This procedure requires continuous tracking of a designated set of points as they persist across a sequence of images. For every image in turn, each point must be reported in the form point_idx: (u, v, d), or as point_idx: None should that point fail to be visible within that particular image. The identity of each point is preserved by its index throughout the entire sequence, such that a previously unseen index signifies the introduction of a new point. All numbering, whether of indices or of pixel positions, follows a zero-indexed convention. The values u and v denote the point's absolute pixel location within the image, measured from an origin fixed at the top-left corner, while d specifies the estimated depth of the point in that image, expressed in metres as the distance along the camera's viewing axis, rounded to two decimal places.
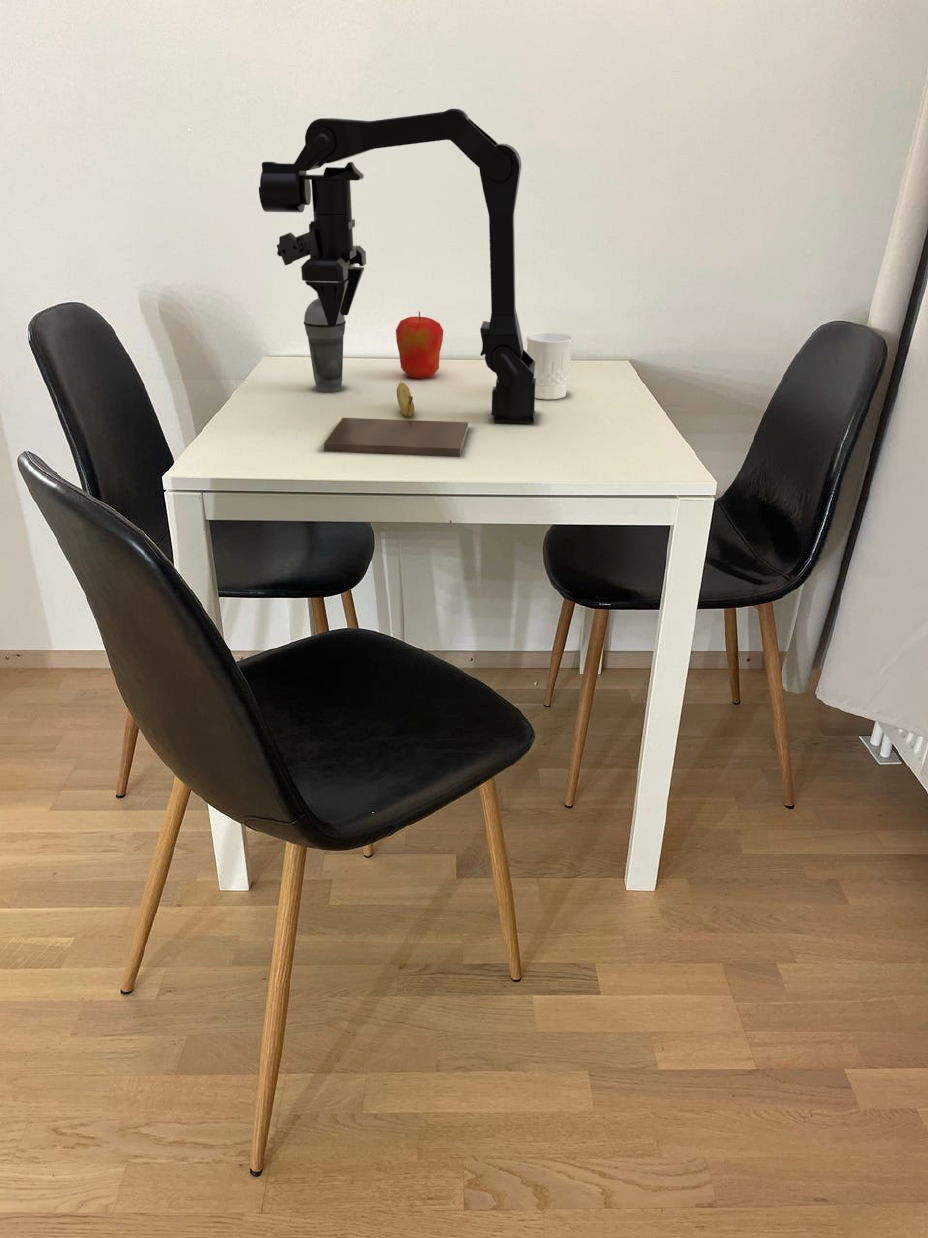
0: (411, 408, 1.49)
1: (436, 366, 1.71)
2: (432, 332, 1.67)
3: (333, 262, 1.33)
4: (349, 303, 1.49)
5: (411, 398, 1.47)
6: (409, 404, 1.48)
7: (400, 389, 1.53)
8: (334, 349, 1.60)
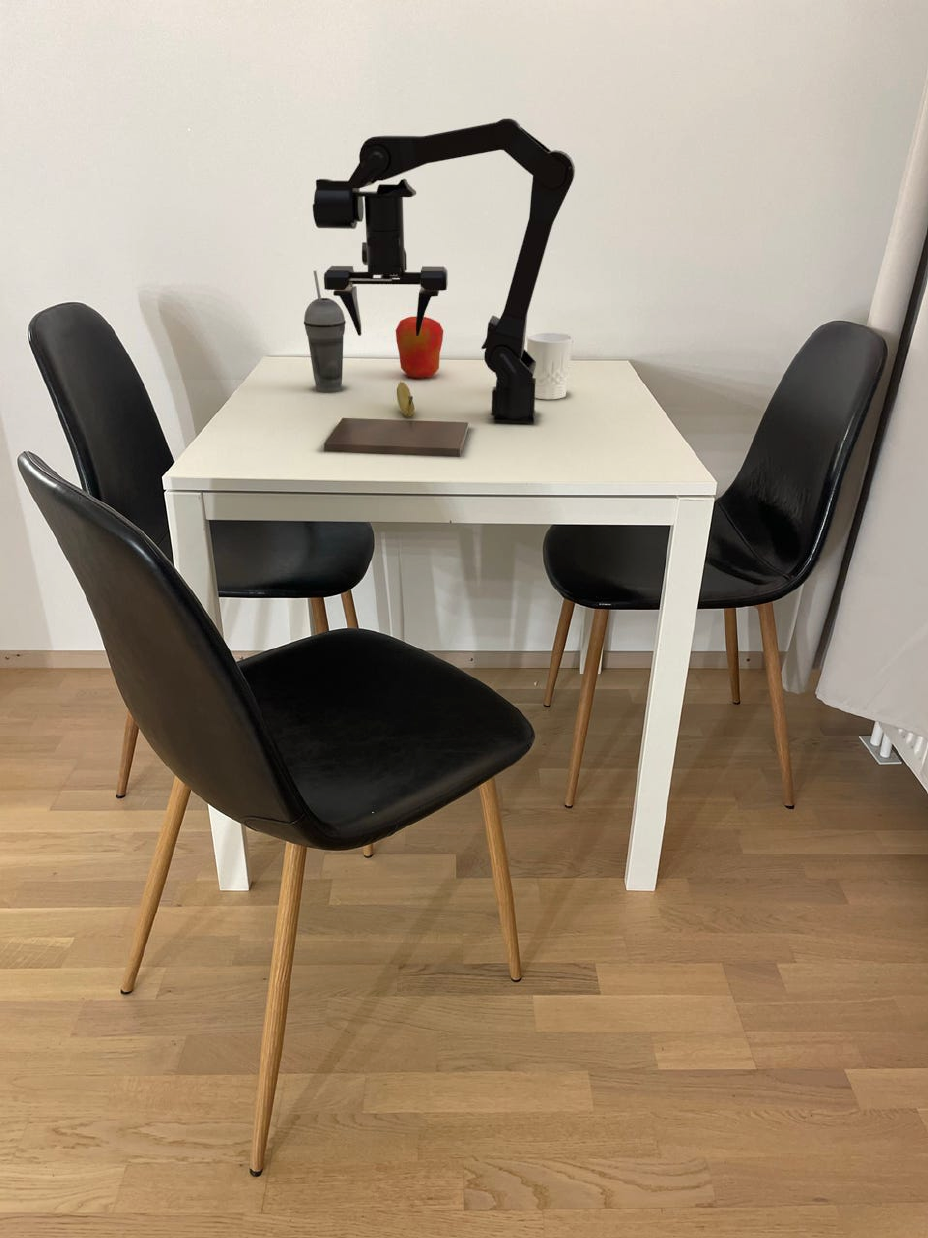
0: (411, 408, 1.49)
1: (436, 366, 1.71)
2: (432, 332, 1.67)
3: None
4: None
5: (411, 398, 1.47)
6: (409, 404, 1.48)
7: (399, 389, 1.53)
8: (334, 349, 1.60)
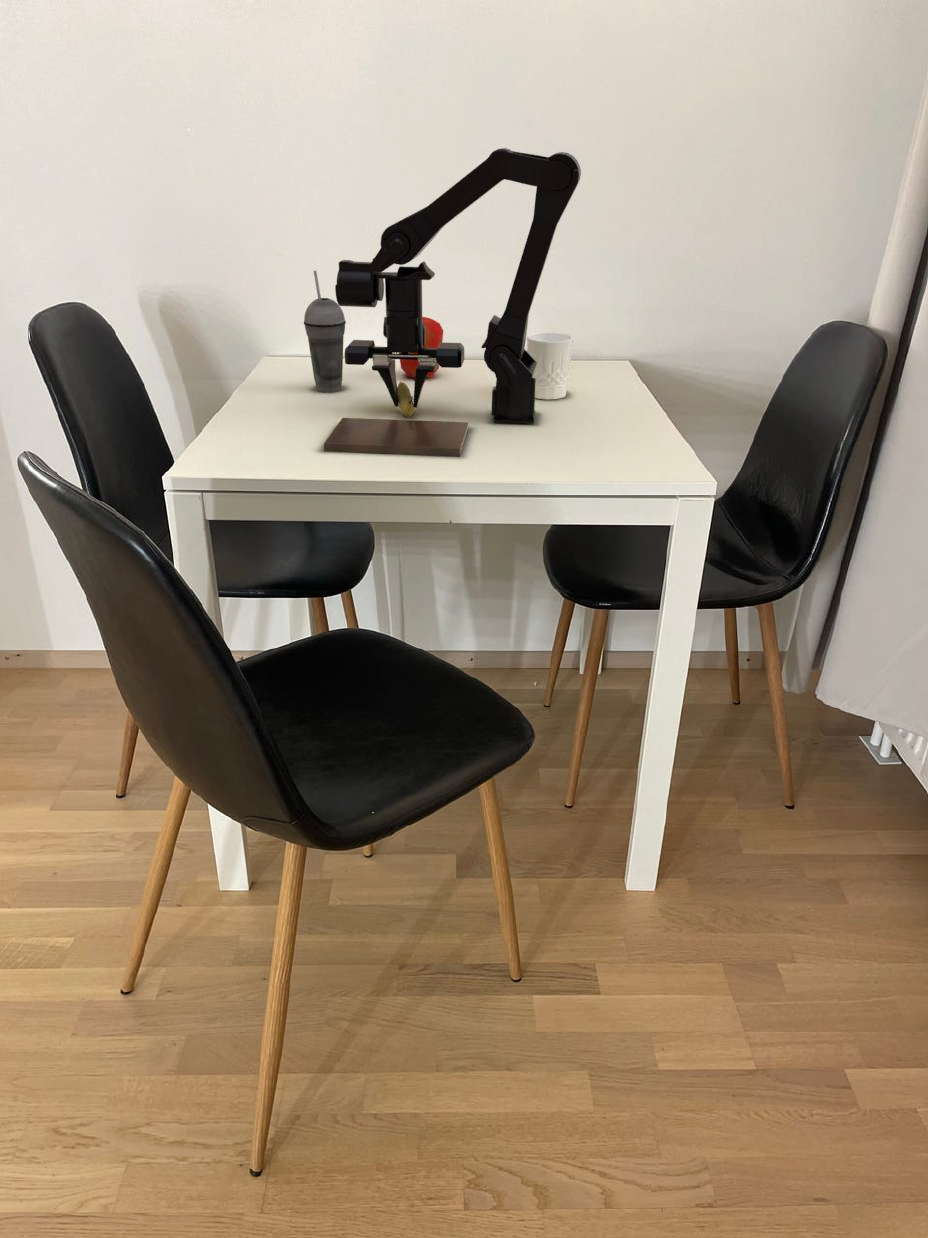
0: (411, 408, 1.49)
1: None
2: (432, 332, 1.67)
3: (347, 346, 1.47)
4: None
5: (411, 398, 1.47)
6: (409, 404, 1.48)
7: (400, 389, 1.53)
8: (334, 349, 1.60)
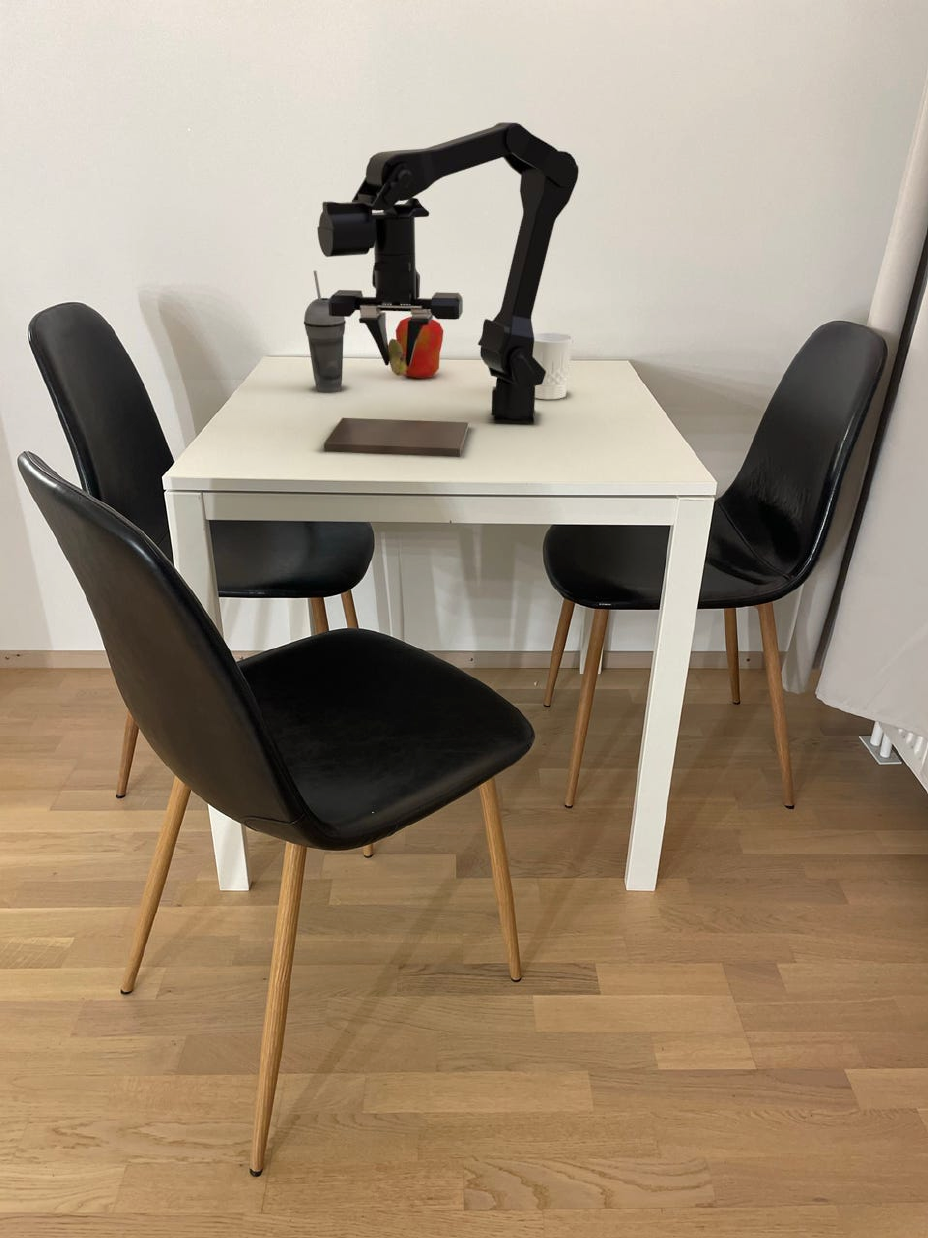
0: (403, 366, 1.33)
1: (436, 366, 1.71)
2: (432, 332, 1.67)
3: None
4: (406, 354, 1.35)
5: (403, 354, 1.31)
6: (400, 361, 1.32)
7: (391, 346, 1.37)
8: (334, 349, 1.60)
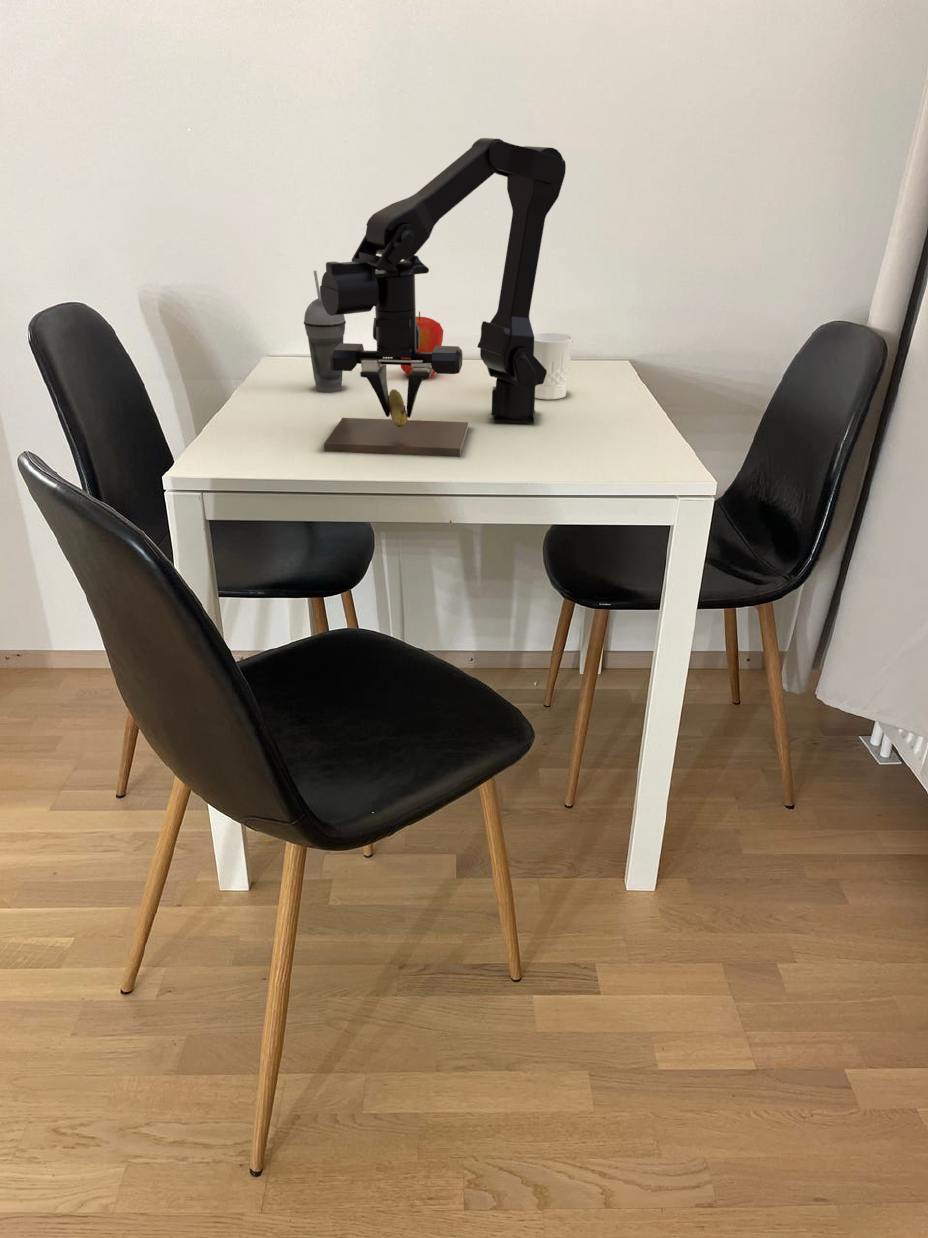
0: (404, 418, 1.35)
1: None
2: (432, 332, 1.67)
3: (333, 350, 1.33)
4: None
5: (403, 407, 1.33)
6: (401, 414, 1.34)
7: (391, 397, 1.39)
8: None
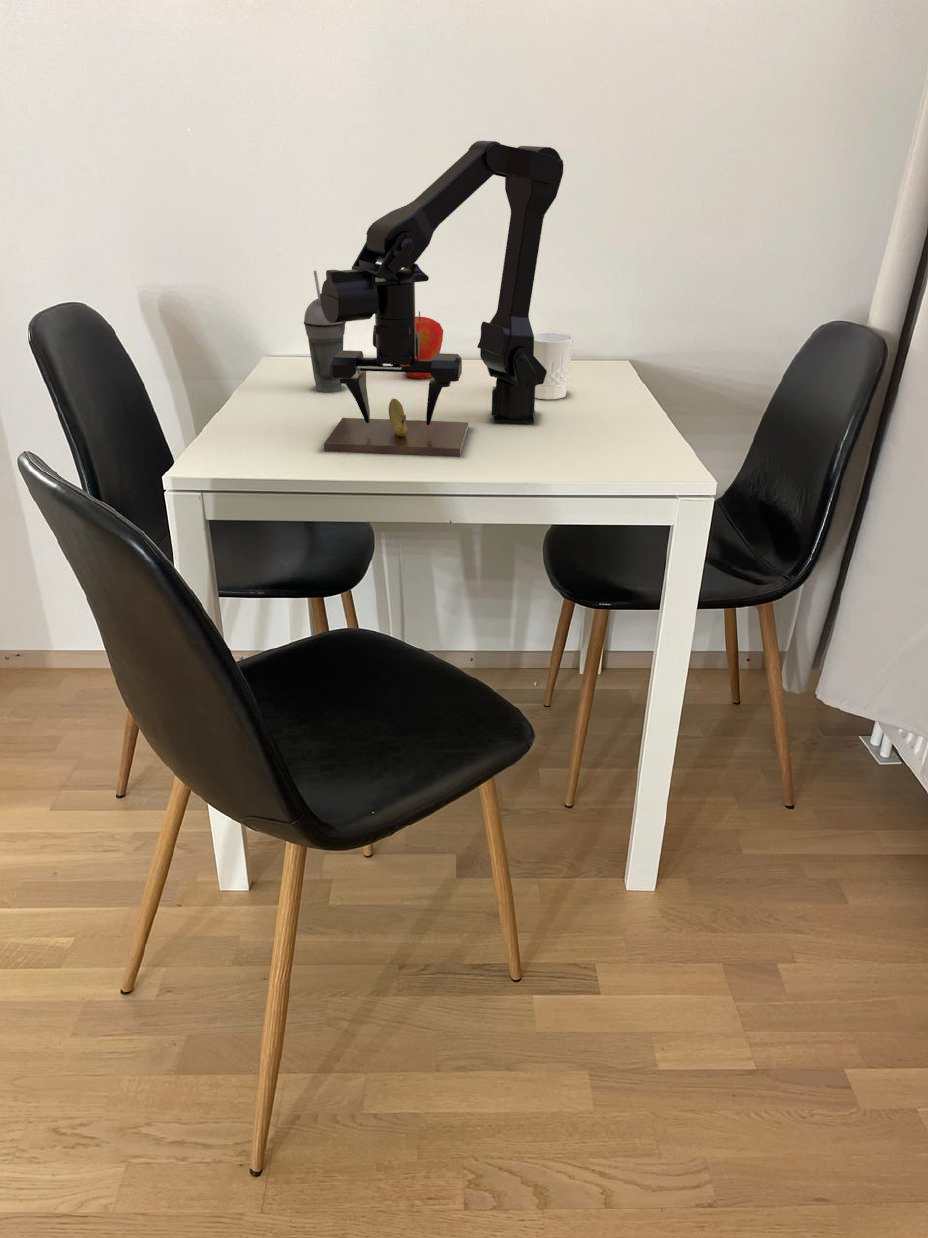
0: (404, 428, 1.35)
1: None
2: (432, 332, 1.67)
3: None
4: None
5: (404, 417, 1.34)
6: (402, 423, 1.34)
7: (392, 407, 1.40)
8: (334, 349, 1.60)
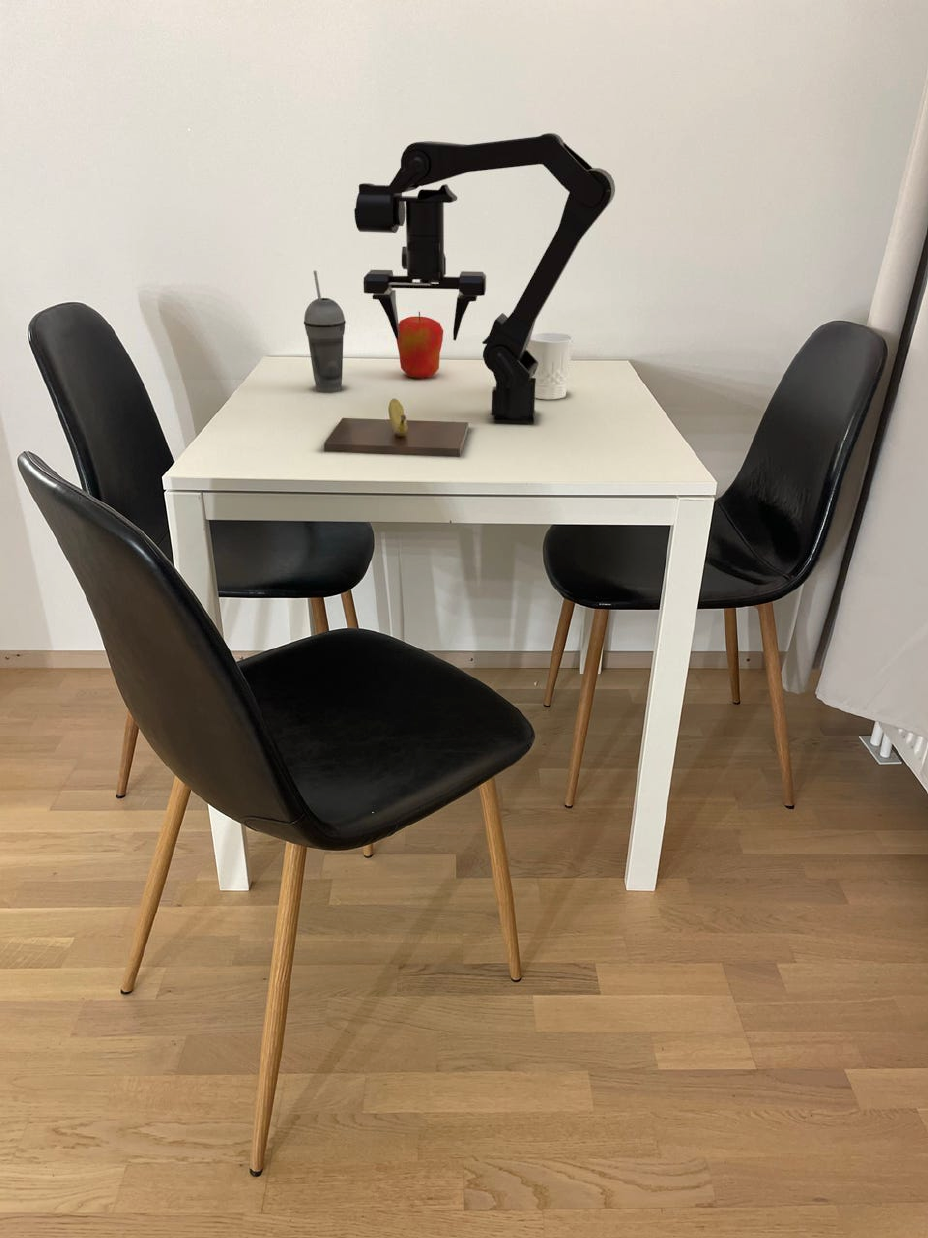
0: (404, 428, 1.35)
1: (436, 366, 1.71)
2: (432, 332, 1.67)
3: None
4: (453, 329, 1.46)
5: (404, 417, 1.34)
6: (402, 423, 1.34)
7: (392, 407, 1.40)
8: (334, 349, 1.60)
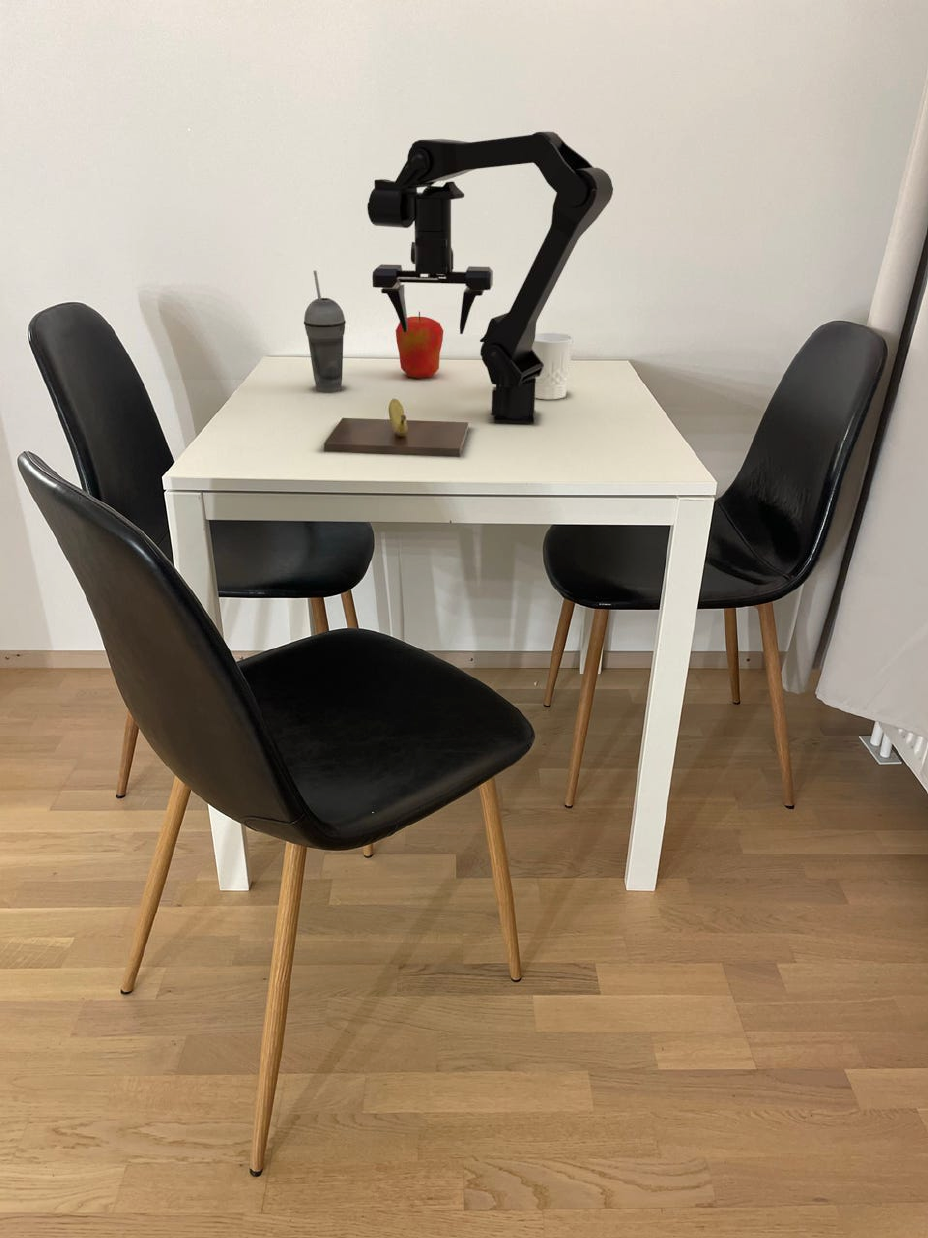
0: (404, 428, 1.35)
1: (436, 366, 1.71)
2: (432, 332, 1.67)
3: (375, 269, 1.45)
4: (460, 322, 1.49)
5: (404, 417, 1.34)
6: (402, 423, 1.34)
7: (392, 407, 1.40)
8: (334, 349, 1.60)
